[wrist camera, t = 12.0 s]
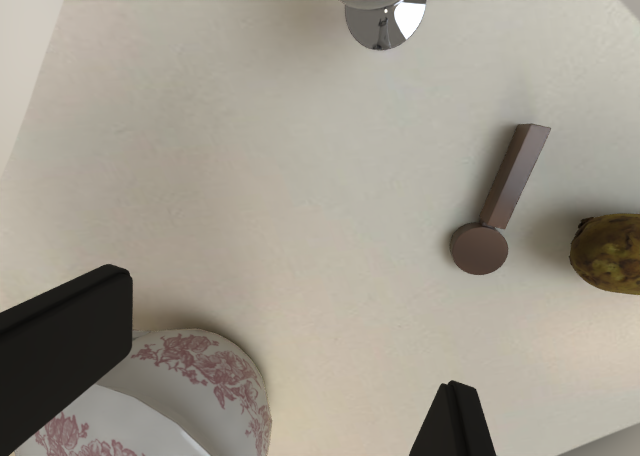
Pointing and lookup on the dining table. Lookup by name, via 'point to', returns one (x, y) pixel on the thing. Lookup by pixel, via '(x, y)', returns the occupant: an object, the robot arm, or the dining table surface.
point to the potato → (608, 252)
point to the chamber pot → (166, 403)
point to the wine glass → (383, 21)
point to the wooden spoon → (499, 205)
